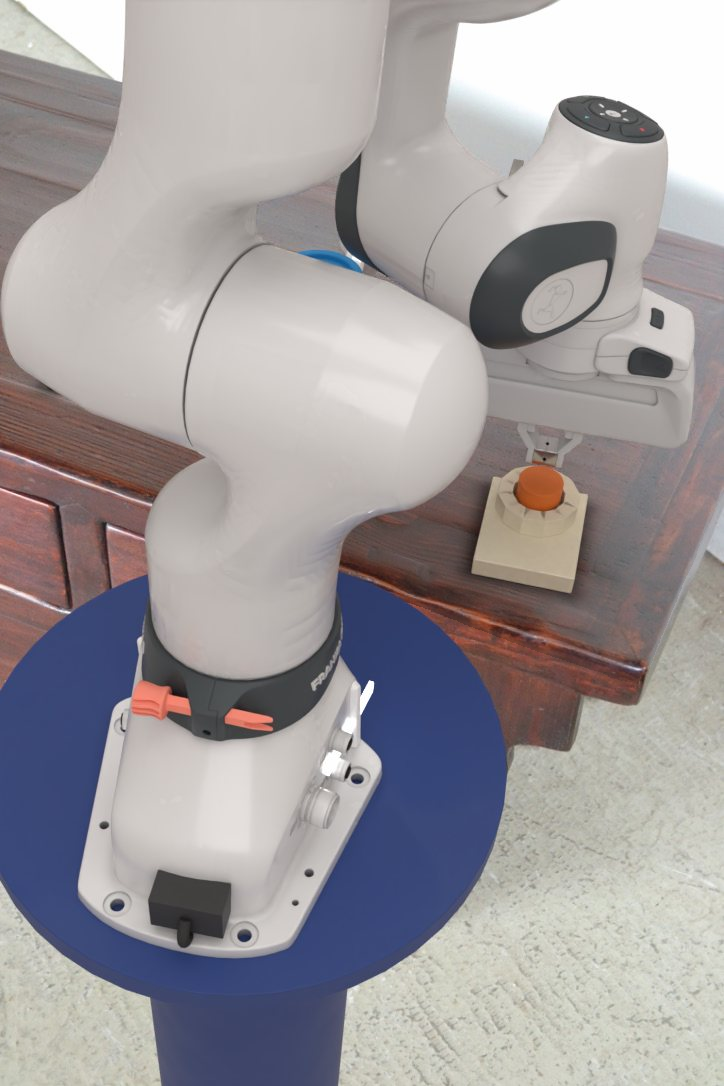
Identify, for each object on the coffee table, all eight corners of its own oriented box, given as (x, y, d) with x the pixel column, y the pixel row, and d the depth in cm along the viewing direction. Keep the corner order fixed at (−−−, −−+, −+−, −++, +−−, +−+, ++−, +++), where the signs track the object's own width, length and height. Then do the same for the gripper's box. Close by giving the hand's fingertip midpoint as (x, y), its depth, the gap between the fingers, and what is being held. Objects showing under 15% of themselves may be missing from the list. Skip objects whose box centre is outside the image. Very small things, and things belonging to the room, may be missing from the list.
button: (557, 515, 107) (561, 499, 105) (513, 506, 107) (516, 490, 106) (563, 485, 109) (566, 470, 108) (519, 477, 110) (522, 461, 108)
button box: (571, 594, 105) (578, 563, 103) (470, 573, 106) (475, 542, 104) (585, 506, 112) (592, 476, 110) (491, 488, 113) (496, 457, 111)
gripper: (422, 318, 95) (407, 462, 105) (712, 368, 93) (669, 511, 103) (437, 269, 99) (422, 412, 109) (715, 315, 97) (673, 457, 107)
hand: (544, 460), depth 106 cm, fingers closed
